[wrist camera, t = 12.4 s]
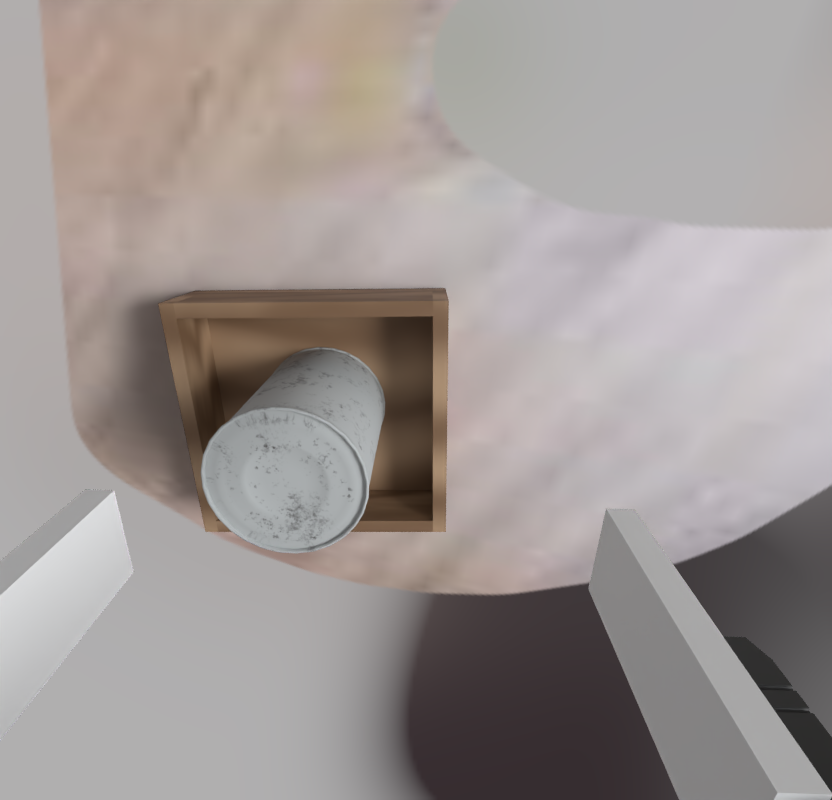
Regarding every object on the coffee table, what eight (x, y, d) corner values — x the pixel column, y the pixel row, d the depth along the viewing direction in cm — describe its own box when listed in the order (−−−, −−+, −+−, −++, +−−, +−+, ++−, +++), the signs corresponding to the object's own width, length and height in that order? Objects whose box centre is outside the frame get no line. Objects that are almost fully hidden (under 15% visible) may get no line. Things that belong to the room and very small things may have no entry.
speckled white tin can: (253, 432, 40) (183, 521, 28) (287, 327, 36) (224, 380, 25) (361, 472, 41) (336, 573, 29) (403, 374, 37) (394, 445, 26)
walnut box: (195, 290, 36) (158, 303, 31) (445, 288, 36) (448, 300, 31) (231, 493, 43) (205, 531, 38) (443, 493, 43) (445, 531, 37)
